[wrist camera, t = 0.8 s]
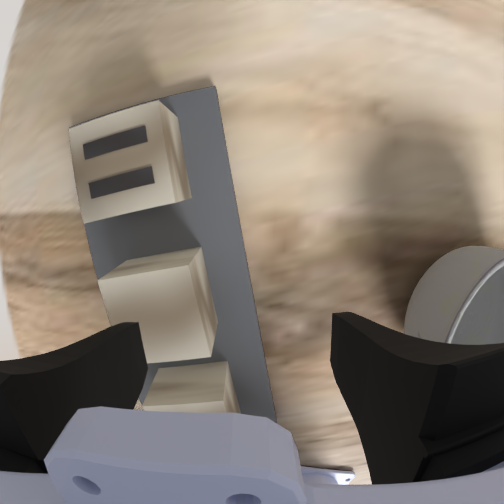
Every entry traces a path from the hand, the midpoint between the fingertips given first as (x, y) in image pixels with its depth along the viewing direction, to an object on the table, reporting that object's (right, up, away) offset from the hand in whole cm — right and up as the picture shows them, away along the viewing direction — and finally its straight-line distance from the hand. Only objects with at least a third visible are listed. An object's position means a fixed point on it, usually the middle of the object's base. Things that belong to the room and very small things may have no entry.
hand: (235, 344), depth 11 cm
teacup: (+17, -1, +11) cm, 20 cm away
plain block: (-4, +1, +9) cm, 10 cm away
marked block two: (-6, +9, +7) cm, 13 cm away
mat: (-4, +1, +10) cm, 11 cm away
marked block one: (-3, -7, +10) cm, 13 cm away
